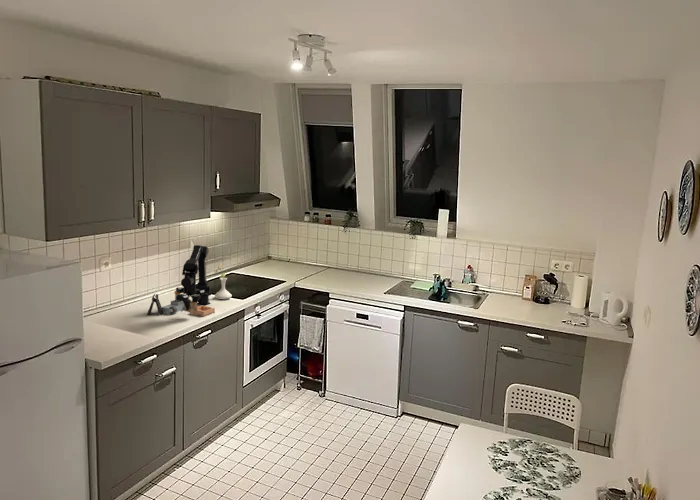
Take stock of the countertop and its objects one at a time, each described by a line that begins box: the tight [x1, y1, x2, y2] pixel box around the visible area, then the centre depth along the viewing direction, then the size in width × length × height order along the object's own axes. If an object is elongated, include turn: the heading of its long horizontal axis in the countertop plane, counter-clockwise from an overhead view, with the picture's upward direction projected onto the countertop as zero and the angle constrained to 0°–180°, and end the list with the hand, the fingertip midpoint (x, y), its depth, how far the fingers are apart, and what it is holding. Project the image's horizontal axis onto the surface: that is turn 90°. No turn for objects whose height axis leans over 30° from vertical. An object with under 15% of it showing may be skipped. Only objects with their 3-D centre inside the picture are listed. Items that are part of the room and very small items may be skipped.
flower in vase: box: [214, 262, 232, 300], centre depth 368 cm, size 13×11×25 cm
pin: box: [173, 290, 180, 302], centre depth 339 cm, size 4×4×8 cm
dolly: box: [161, 299, 184, 315], centre depth 338 cm, size 16×9×6 cm, turn 155°
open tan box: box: [190, 305, 216, 318], centre depth 335 cm, size 10×10×3 cm
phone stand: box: [146, 293, 164, 316], centre depth 329 cm, size 9×6×12 cm, turn 102°
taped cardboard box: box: [183, 300, 198, 313], centre depth 323 cm, size 5×5×6 cm
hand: (190, 308), depth 323 cm, fingers closed on taped cardboard box, 5 cm apart
